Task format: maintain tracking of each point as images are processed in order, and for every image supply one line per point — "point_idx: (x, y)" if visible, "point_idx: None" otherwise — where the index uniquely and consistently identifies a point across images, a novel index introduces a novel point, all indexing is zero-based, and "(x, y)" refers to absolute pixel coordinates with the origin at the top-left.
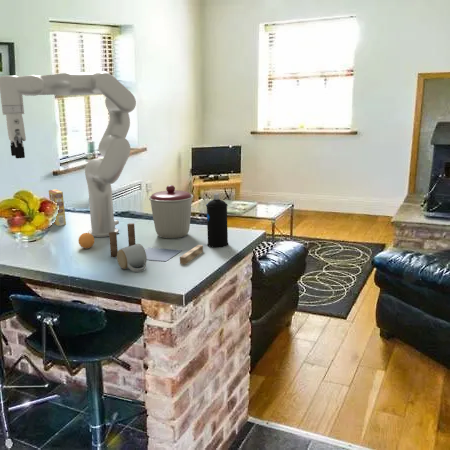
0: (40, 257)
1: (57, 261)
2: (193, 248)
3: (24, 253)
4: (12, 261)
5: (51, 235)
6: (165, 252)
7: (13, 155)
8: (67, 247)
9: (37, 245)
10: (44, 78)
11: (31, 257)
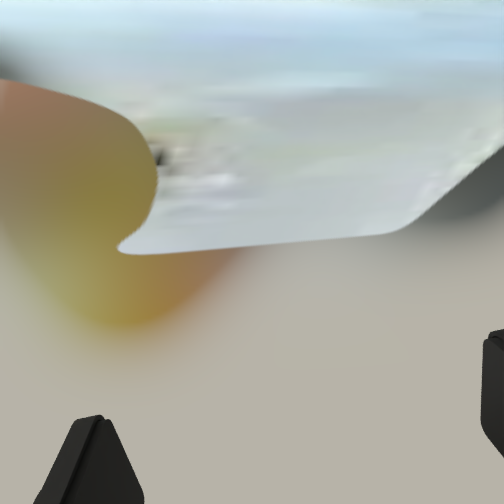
0: (383, 129)
1: (458, 70)
2: None
3: (311, 182)
4: (385, 212)
5: (80, 88)
6: None
7: (140, 487)
8: (296, 24)
9: (223, 142)
10: None
11: (369, 158)
